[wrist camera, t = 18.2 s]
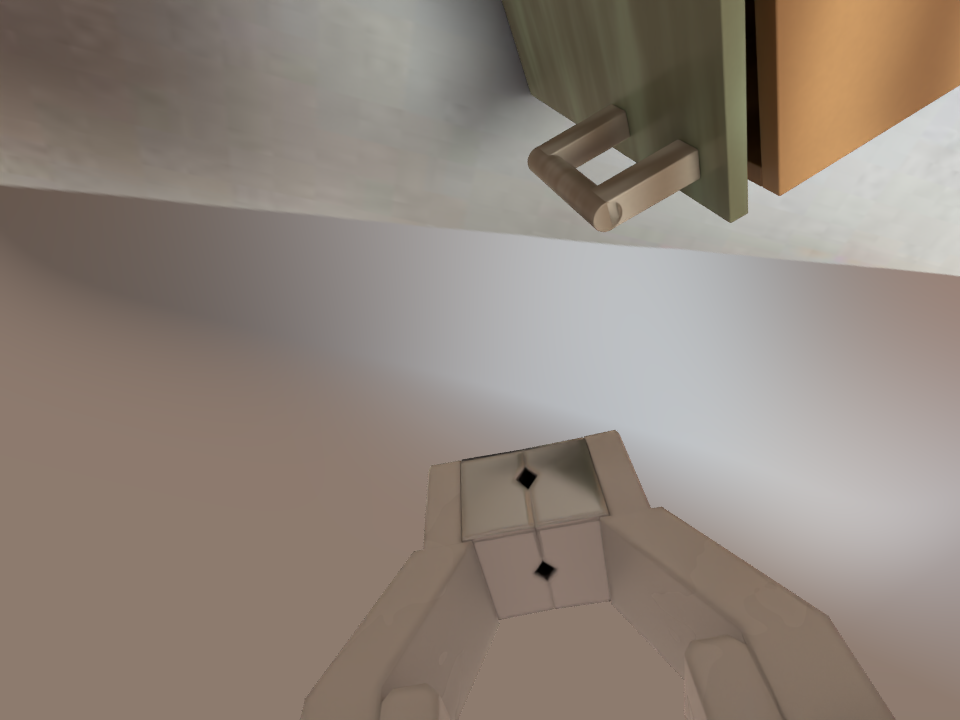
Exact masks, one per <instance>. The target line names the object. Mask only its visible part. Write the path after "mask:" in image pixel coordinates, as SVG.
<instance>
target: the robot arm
mask: <svg viewBox="0 0 960 720" xmlns="http://www.w3.org/2000/svg"><path fill="white" fill-rule="evenodd" d="M608 601H611V604H612V605H613V606H614V607H615V608H616V609H617V610H618V611H619V612H620V613H621V614H622V616H623V617H624V618H625V619H626V620H627V621H628V622H629V623H630V624H631V625H632V626H633V627H634V628H635V629H636V630H637V631H638V632H639V633H640V634H641V635H642V636H643V637H644V639H645V640H646V641H647V642H648V643H649V644H650V645H651V646H652V647H653V648H654V649H655V650H656V651H657V652H658V653H659V654H660V655H661V656H662V657H663V658H664V659H665V661H667V663H668V664H669V665H670V666H671V667H672V668H673V669H674V670H675V671H676V672H677V673H678V674H679V675H680V676H681V677H682V678H683V679H684V680H685V720H895V718H894V716H893V715H892V713H891V711H890V710H889V709H888V707H887V705H886V704H885V702H884V701H883V699H882V698H881V696H880V695H879V693H878V691H877V690H876V688H875V687H874V685H873V684H872V682H871V681H870V679H869V678H868V676H867V675H866V673H865V671H864V670H863V668H862V667H861V665H860V664H859V662H858V661H857V659H856V658H855V656H854V655H853V653H852V652H851V650H850V648H849V647H848V645H847V644H846V642H845V641H844V639H843V638H842V636H841V635H840V633H839V632H838V630H837V628H836V627H835V626H834V624H833V623H832V621H831V619H830V618H829V616H827V615H826V614H825V613H823V612H821V611H820V610H818V609H817V608H815V607H814V606H812V605H811V604H809V603H808V602H806V601H805V600H803V599H802V598H800V597H799V596H797V595H795V594H794V593H792V592H791V591H789V590H788V589H786V588H785V587H783V586H782V585H780V584H779V583H777V582H776V581H774V580H773V579H771V578H770V577H768V576H767V575H765V574H763V573H762V572H760V571H759V570H757V569H756V568H754V567H753V566H751V565H750V564H748V563H747V562H745V561H744V560H742V559H740V558H739V557H737V556H736V555H734V554H733V553H731V552H730V551H728V550H727V549H725V548H724V547H722V546H721V545H719V544H717V543H716V542H715V541H713V540H712V539H710V538H708V537H707V536H705V535H704V534H702V533H701V532H699V531H698V530H696V529H695V528H693V527H692V526H690V525H689V524H687V523H686V522H684V521H683V520H681V519H679V518H678V517H676V516H675V515H673V514H672V513H670V512H669V511H667V510H666V509H664V508H663V507H657V508H651V507H650V505H649V503H648V500H647V498H646V495H645V493H644V491H643V489H642V486H641V484H640V481H639V479H638V477H637V474H636V472H635V470H634V467H633V465H632V463H631V460H630V458H629V456H628V453H627V451H626V449H625V446H624V444H623V441H622V439H621V437H620V435H619V433H618V432H617V431H615V430H613V431H608V432H603V433H598V434H594V435H589V436H585V437H584V438H577V439H572V440H567V441H562V442H557V443H552V444H547V445H542V446H537V447H532V448H527V449H522V450H516V451H510V452H504V453H498V454H492V455H487V456H481V457H475V458H469V459H463V460H462V461H455V462H450V463H443V464H437V465H431V467H430V469H429V472H428V481H427V497H426V513H425V530H424V548H423V550H418V551H414V552H413V553H412V554H411V556H410V557H409V558H408V560H407V561H406V563H405V564H404V565H403V567H402V568H401V569H400V571H399V572H398V573H397V575H396V576H395V577H394V579H393V580H392V582H391V583H390V584H389V586H388V587H387V588H386V590H385V591H384V592H383V594H382V595H381V597H380V598H379V599H378V601H377V602H376V603H375V605H374V606H373V607H372V609H371V610H370V611H369V613H368V614H367V615H366V617H365V618H364V620H363V621H362V622H361V624H360V625H359V626H358V628H357V629H356V630H355V632H354V633H353V635H352V636H351V637H350V639H349V640H348V641H347V643H346V644H345V645H344V647H343V648H342V649H341V651H340V652H339V653H338V655H337V656H336V658H335V659H334V661H333V662H332V663H331V664H330V666H329V667H328V668H327V670H326V671H325V672H324V674H323V675H322V677H321V678H320V679H319V681H318V682H317V683H316V685H315V686H314V687H313V689H312V690H311V692H310V693H309V694H308V696H307V697H306V698H305V701H304V705H303V710H302V714H301V718H300V720H458V719H459V716H460V714H461V712H462V709H463V707H464V705H465V702H466V700H467V698H468V695H469V693H470V691H471V689H472V686H473V684H474V682H475V679H476V677H477V675H478V672H479V670H480V668H481V666H482V663H483V661H484V659H485V656H486V654H487V652H488V649H489V647H490V645H491V642H492V640H493V638H494V635H495V633H496V631H497V629H498V626H499V620H501V619H506V618H511V617H516V616H521V615H527V614H532V613H537V612H542V611H547V610H552V609H558V608H565V607H572V606H580V605H586V604H594V603H601V602H608Z"/></svg>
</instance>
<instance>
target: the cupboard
mask: <svg viewBox="0 0 960 720" xmlns="http://www.w3.org/2000/svg"><path fill="white" fill-rule="evenodd" d="M745 37H746V109H747V179H748V180H750V181H752V182H754V183H756V184H758V185H759V186H763V188H765V189H767V190H769V191H771V192H773V193H775V194H776V195H778V196H781V195H782V194H784V193H786V192H787V191H789V190H791V189H792V188H794V187H795V186H797V185H799V184H800V183H802V182H804V181H805V180H807V179H808V178H810V177H812V176H813V175H815V174H816V173H818V172H820V171H821V170H823V169H825V168H826V167H828V166H829V165H831V164H833V163H834V162H836V161H838V160H839V159H841V158H842V157H844V156H846V155H847V154H849V153H851V152H852V151H854V150H855V149H857V148H859V147H860V146H862V145H864V144H865V143H867V142H868V141H870V140H872V139H873V138H875V137H876V136H878V135H880V134H881V133H883V132H885V131H886V130H888V129H889V128H891V127H893V126H894V125H896V124H898V123H899V122H901V121H902V120H904V119H906V118H907V117H909V116H911V115H912V114H914V113H915V112H917V111H919V110H920V109H922V108H924V107H925V106H927V105H928V104H930V103H932V102H933V101H935V100H936V99H938V98H940V97H941V96H943V95H945V94H946V93H948V92H949V91H951V90H953V89H954V88H956V87H958V86H959V85H960V0H745Z"/></svg>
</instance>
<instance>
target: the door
mask: <svg viewBox="0 0 960 720" xmlns="http://www.w3.org/2000/svg"><path fill="white" fill-rule="evenodd" d="M502 3H503V6H504V9H505V13H506V16H507V19H508V22H509V25H510V29H511V32H512V35H513V38H514V41H515V44H516V48H517V51H518V54H519V57H520V60H521V64H522V67H523V70H524V73H525V76H526V80H527V83H528V86H529V89H530V92H531V95H532V96H534V97H535V98H537V99H539V100H540V101H542V102H543V103H545V104H546V105H548V106H549V107H551V108H552V109H554V110H556V111H557V112H559V113H560V114H562V115H563V116H565V117H566V118H568V119H570V120H571V121H573V122H574V123H576V125H574V126H573V127H571V128H569V129H568V130H566V131H564V132H562V133H561V134H559V135H557V136H556V137H554V138H552V139H550V140H549V141H547V142H545V143H544V144H542V145H540V146H538V147H536V148H535V149H533V150H532V152H531V153H530V155H529V157H528V167H529V169H530V170H531V171H532V172H533V173H534V174H535V175H537V176H538V177H539V178H540V179H541V180H542V181H543V182H544V183H545V184H546V185H548V186H549V187H550V188H551V189H552V190H553V191H554V192H555V193H556V194H558V195H559V196H560V197H561V198H562V199H563V200H564V201H565V202H566V203H568V204H569V205H570V206H571V207H572V208H573V209H574V210H575V211H576V212H577V213H579V214H580V215H581V216H582V217H583V218H584V219H585V220H586V221H587V222H589V223H590V224H591V225H592V226H593V227H594V228H595V229H596V230H598V231H600V232H607V231H610V230H612V229H613V228H615V227H616V226H618V225H620V224H621V223H623V222H625V221H627V220H628V219H630V218H632V217H634V216H635V215H637V214H639V213H641V212H642V211H644V210H646V209H648V208H649V207H651V206H653V205H655V204H656V203H658V202H660V201H661V200H663V199H665V198H667V197H668V196H670V195H672V194H674V193H675V192H677V191H679V190H680V191H681V192H683V193H684V194H686V195H688V196H689V197H691V198H692V199H694V200H695V201H697V202H698V203H700V204H702V205H703V206H705V207H706V208H708V209H709V210H711V211H712V212H714V213H715V214H717V215H719V216H720V217H722V218H723V219H725V220H726V221H728V222H729V223H732V222H733V221H735V220H737V219H739V218H740V217H742V216H744V215H746V214H747V213H748V182H747V109H746V37H745V0H502ZM612 147H613V148H615V149H616V150H618V151H619V152H621V153H622V154H624V155H625V156H627V157H629V158H630V159H632V160H633V161H635V162H636V164H634V165H633V166H631V167H629V168H627V169H626V170H624V171H622V172H620V173H619V174H617V175H615V176H614V177H612V178H610V179H608V180H607V181H605V182H603V183H601V184H600V185H598V186H597V185H596V184H595V183H594V182H592V181H591V180H590V179H588V178H587V177H586V176H585V175H583V174H582V173H581V172H579V171H578V170H577V169H576V168H577V167H579V166H581V165H582V164H584V163H586V162H588V161H589V160H591V159H593V158H594V157H596V156H598V155H600V154H601V153H603V152H605V151H607V150H608V149H610V148H612Z"/></svg>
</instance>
